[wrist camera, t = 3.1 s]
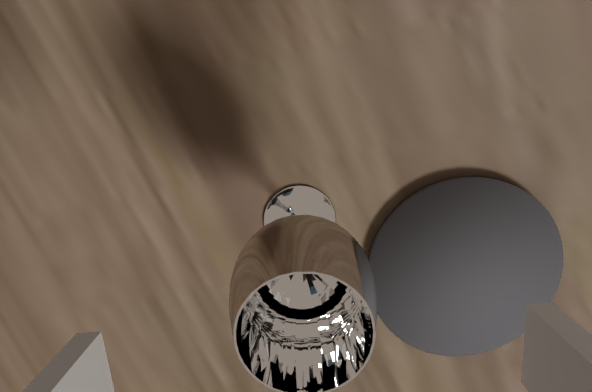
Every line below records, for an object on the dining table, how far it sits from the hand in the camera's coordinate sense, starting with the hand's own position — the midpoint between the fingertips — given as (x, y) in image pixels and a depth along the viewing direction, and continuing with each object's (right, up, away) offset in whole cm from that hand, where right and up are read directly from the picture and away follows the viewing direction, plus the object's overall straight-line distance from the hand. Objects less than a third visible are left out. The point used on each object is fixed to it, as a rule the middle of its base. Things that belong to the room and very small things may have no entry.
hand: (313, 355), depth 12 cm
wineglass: (0, +3, +12) cm, 13 cm away
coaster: (+10, 0, +13) cm, 16 cm away
